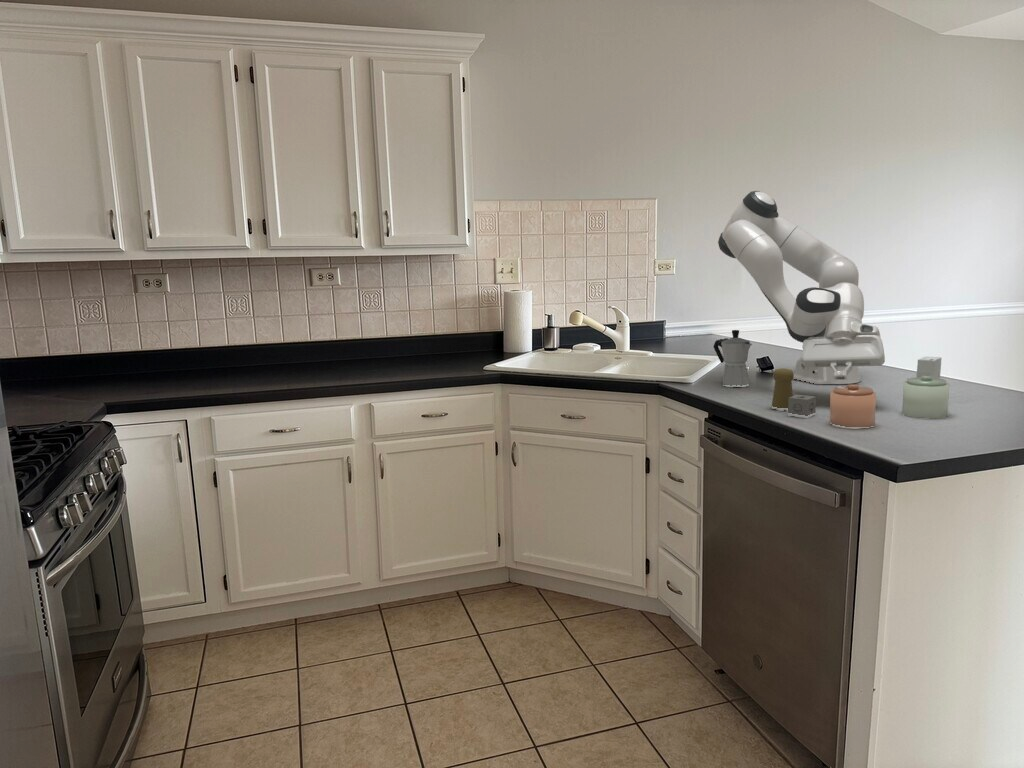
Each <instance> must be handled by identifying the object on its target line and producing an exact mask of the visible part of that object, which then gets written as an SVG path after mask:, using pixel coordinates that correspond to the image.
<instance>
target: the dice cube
mask: <svg viewBox="0 0 1024 768" xmlns="http://www.w3.org/2000/svg"><path fill="white" fill-rule="evenodd" d="M816 403H817V396H815V395H805V394H795V395H794V394H793V396H792V397H789V398H788V411H787V414H788V413H792V414H798V415H805V416H808V415H810V414H813V413H816V412H817V411H816V409H817V404H816ZM816 414H817V413H816Z"/></svg>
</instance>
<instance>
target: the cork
mask: <svg viewBox="0 0 1024 768" xmlns="http://www.w3.org/2000/svg"><path fill="white" fill-rule="evenodd" d="M793 373H794V371H793V370H792V369H790V368H776V369H775V370H774V371H773V374H772V375H773V380H774V381H775V382H774V387H773V395H772V400H771V401H772V402H771V407H772V406H773V407H777V408H788V398H789V397H792V396H794V394H793V393H794V392H793V385H792V381H793V380H794V379H793V377H794V374H793Z"/></svg>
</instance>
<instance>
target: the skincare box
mask: <svg viewBox="0 0 1024 768" xmlns="http://www.w3.org/2000/svg"><path fill="white" fill-rule="evenodd" d="M941 370H942V357H941V356H924V357H921V358H918V359H917V367H916V377H921V376H932V378H939V379H941Z"/></svg>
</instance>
